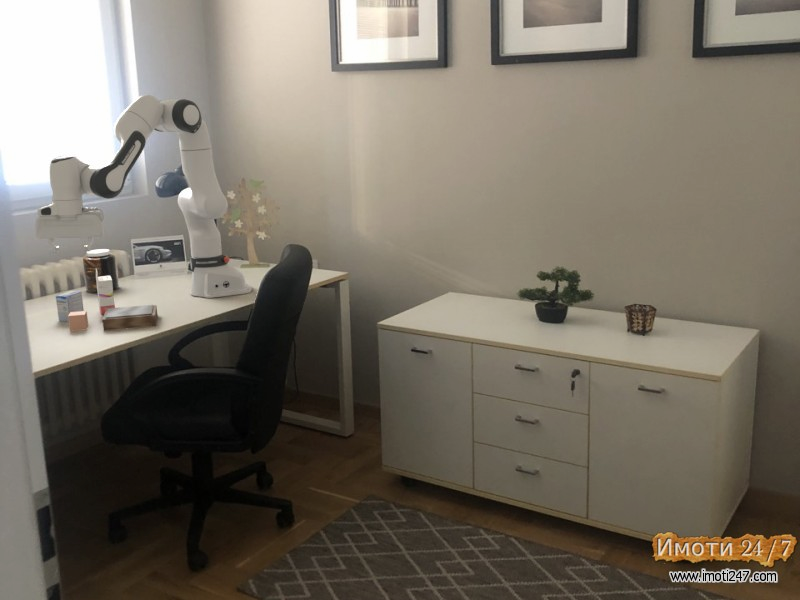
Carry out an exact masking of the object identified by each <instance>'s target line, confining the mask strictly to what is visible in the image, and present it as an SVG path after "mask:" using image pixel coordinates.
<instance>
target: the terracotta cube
mask: <svg viewBox="0 0 800 600" xmlns="http://www.w3.org/2000/svg"><path fill="white" fill-rule="evenodd" d="M68 319H69V322H68V326H69V331H70V332H72V331H73V332H74V331H85V330H86V331H87V330H88V328H89V318H88V312H87V310H84V311H79V312H70V314H69V315H68Z"/></svg>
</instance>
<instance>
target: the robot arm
mask: <svg viewBox="0 0 800 600" xmlns="http://www.w3.org/2000/svg"><path fill="white" fill-rule="evenodd" d="M113 131H114V135H115V137H116V139H117V140H118V142H119V143H120V144H121V146H120V148H119V149H118V151H117V152H116V153H115V155H114V156H113V158H112V160H111V161H110V162H108V163H107V164H104V165H94V164H90V163H87V162H84V161H82V160H80V159H78V158H77V156H75V155H73V154H72V155H71V154H69V155H62V156H57V157H55V158H53V159H52V160H51V161H50V164H49V181H50V188H51V191H52V196H51V201H52V202H51V204H50V203H49V204H46V205H45V206H42V207H40V208H38V209H37V211H36V213H37V215H38V217H36V220H35V237H36V238H37V239H39V240H48V243H49V244H50V246H51V247H52V249H53V253H60V252H61V251H60V246H59V245H56V243H55V241H56V239H80V238H81V239H83V238H87V239H86V240H87V241H88V243H87V245H84V252H86V253H87V252H90V251H91V246H92V244H93V242H94V238H101V237H103V236H105V235H104V234H105V227H104V218H105V217H104V212H103V210H101V209H100V208H98V207H84V206H83V204H84V203H83V195H84V196H85V195H86V196H92V197H99V198H103V199H114V198H116V197H117V196H119V195H120V194H121V192H122V191H123V189H124V188H125V187H124V186H125V184H126V180H127V178H128V175H129V174H130V172H131V170H132V168H133V167H134V165H136V162H137V161H138V159H139V158H140V157H141V154H142V153H143V151H144V148H145V147H146V143H147V140H148V139H149V137H150V136H151V135H152V134H153V132H154V131H155V132H159V133H160V132H163V133H164V132H165V133H176V135H177V137H178V139H179V140H178V142H179V144H178V145H179V152H180V160H181V167H182V168H181V169H182V173H183V175H184V177H185V178H186V180H187V183H188V185H189V187H186V188H184V189H182V190H181V191H180V193H179V194H178V197H177V205H178V207H179V209H180V210H181V212H182V215H183V217H184V220H185V221H184V222H185V225H186V228H187V231H188V236H189V243H190V244H189V245H190V252H191V253H190V254H191V256H190V259H189V260H190V270H191V272H192V273H191V274H192V275H191V286H190V287H191V288H190V291H189V292H190V293H189V294H190V295H191V296H194V297H202V298H205V299H214V298H219V297H220V298H221V297H229V296H236V295H244V294H249V293H251V292H252V290H253V289H252V285H250V284H249V283H246V279H245V276H244V274H243V272H242V271H240V270H238V269H237V268H236V267H234V266H233V265H231V264H229V262H230V257H229V256H228V255H227V254H224V253H223V250H222V238H221V233H220V230H219V229H218V227H217V224H216V222H215V220H217V219H219V218H220V219H221V218H222V217H223V216H224V215H225V214H226V213H227V211H228V208H229V204H228V203H229V202H228V199H227V197H226V196H225V195H224V193H223V191H222V188H221V186H220V183H219V180H218V178H217V175H216V170H215V165H214V157H213V149H212V143H211V137H210V133H209V128H208V127H207V123H206V121H204V120H203V119H202V114H201V110H200V108H199V106H198V104H196V103H195V102H194V101H192V100H190V99H185V98H184V99H183V98H182V99H178V98H172V99H171V98H169V99H166V100H159V99H158V98H157V97H155V96H153V95H151V94H142V95H140V96H139V97H137V98H136V99H135V100H134V101H133V102H132V103H130V104H129V106H127V108H126V109H124V110H123V112H122V113H121V114H120V115H119V116H118V118H117V120H116V122H115V123H114V126H113Z"/></svg>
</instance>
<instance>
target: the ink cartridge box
mask: <svg viewBox="0 0 800 600" xmlns="http://www.w3.org/2000/svg"><path fill="white" fill-rule="evenodd" d="M96 283H97V292H98V293H97V299H98V305H99V306H98V307H99V312H100V314H101V315H104V314H105V312H106V309H109V308H116V306H115V297H114V290H113V284H112V279H111V276H101V277H98V272H97V269H96Z"/></svg>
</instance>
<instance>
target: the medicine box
mask: <svg viewBox="0 0 800 600" xmlns="http://www.w3.org/2000/svg"><path fill="white" fill-rule="evenodd" d="M55 300H56V301H55V302H56V303H55V304H56V308H57V317H58V322H66V323H67V322H68V323H69V319H68V315H69V314H70V312H79V311H85V310H84V303H83V302H84V301H83V300H84V299H83V292H82V291H79V290H70V291H66V292H64V293H61V294H59V295H55Z"/></svg>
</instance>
